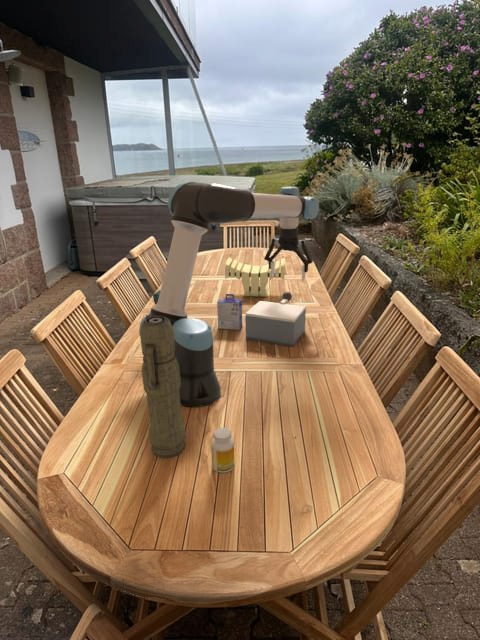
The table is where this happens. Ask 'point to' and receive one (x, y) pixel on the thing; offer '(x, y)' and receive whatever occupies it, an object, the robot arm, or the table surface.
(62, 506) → the table surface
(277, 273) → the slatted curved stool
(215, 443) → the supplement bottle
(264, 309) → the lid
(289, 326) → the carton
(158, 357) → the thermos
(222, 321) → the ink cartridge box
